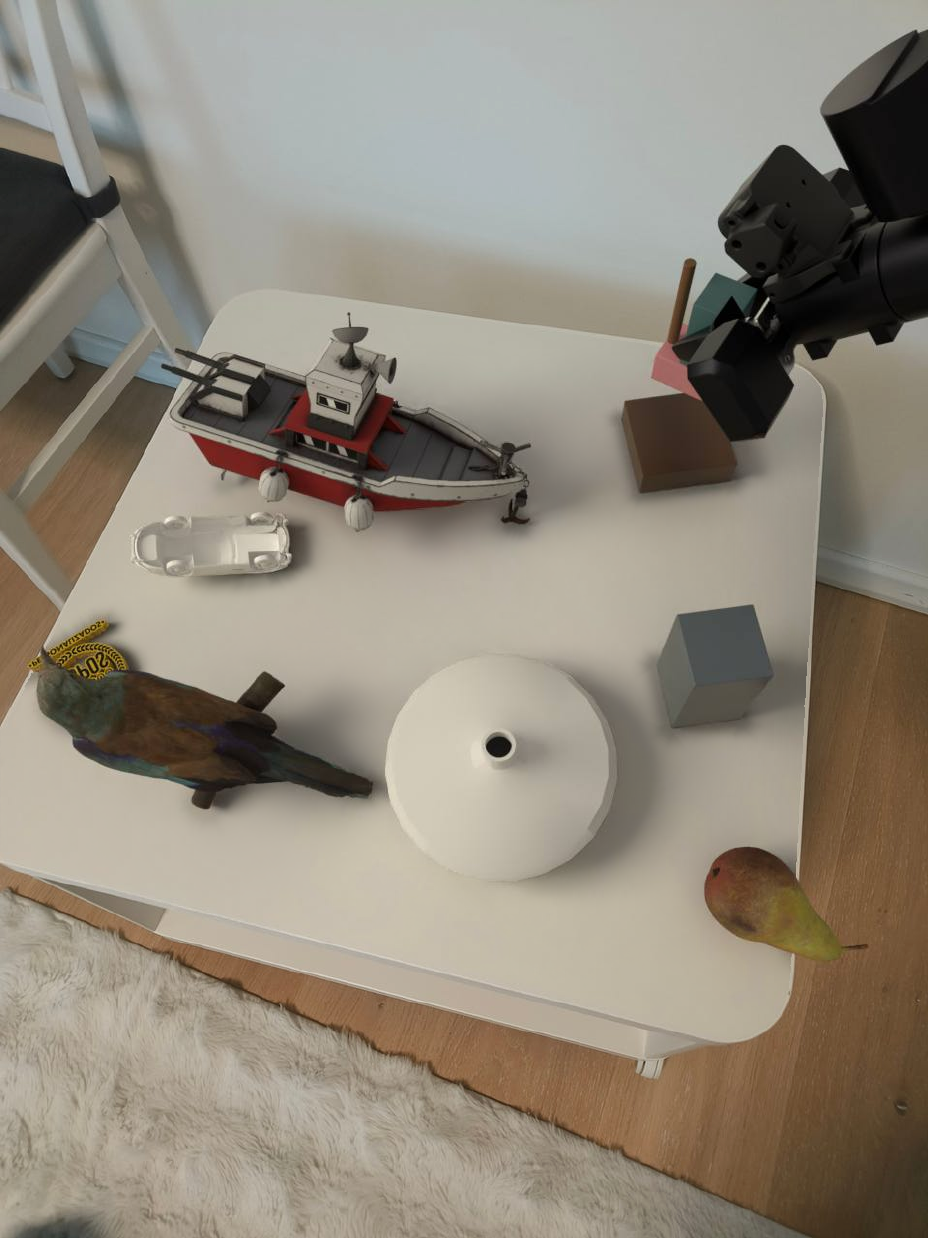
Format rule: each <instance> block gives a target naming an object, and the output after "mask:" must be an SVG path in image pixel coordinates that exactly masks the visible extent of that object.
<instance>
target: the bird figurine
mask: <svg viewBox="0 0 928 1238" xmlns="http://www.w3.org/2000/svg"><path fill="white" fill-rule="evenodd" d="M39 651H40V652H39V654H40V655H41V660H42V666H43V667H42V669H41V670H40V671H38V674H37V683H36V699H37V703H38V707H39V710H40V712H41V713H42V714H43V715H44V716H45V717H47V718H48V719H50V721H51V720H52V721H53V722H55V724H58V725H59V726H60V727H61V728H63V729H64V730H65V731H67V733H68V734H69V735H70V736H71V737H72V739H71V740H72V741H71V742H72V746H73V748H74V749H75V750H76V751H77V752H78V753H79V754H81V755H82V756H84V757H85V758H86V759H89V760H91V761H92V762H95V763H97V764H99V765H101V766H104V767H106V768H109V769H111V770H114V771H118V772H121V773H125V774H126V773H127V774H132V775H136V776H141V777H147V778H153V779H159V780H167V781H170V782H173V783H176V784H179V785H182V786H184V787H186V788H189V789H192V790H194V792H193V794H192V796H191V799H190V801H191V804H192V805H193V806H195V807H196V808H198V809H201V810H204V811H205V810H209V809H211V807H212V804H213V803H214V799H215V798H216V796H217V793H219V792H220V793H221V792H223V791H224V790H228V789H230V790H231V789H234V788H237V787H239V786H246V785H260V784H276V783H291V784H294V785H298V786H302V787H304V788H307V789H310V790H314V791H317V792H319V793H322V794H324V795H326V796H329V797H334V798H345V797H348V798H353V799H356V798H357V799H358V798H359V799H364V800H368V799H369V798H370V795H371V794H372V793H373V790H374V789H373V788H374V781H370V780H369V779H368V778H366V777H363V776H362V775H359V774H358V775H357V774H356V773H355V772H351V771H347V769H345V768H343V767H341V766H339V765H337V764H334V763H333V762H330V761H328V760H325V758H322V757H320V756H317V755H314V754H310V753H308V752H305V751H303V750H300V749H296V748H295V747H293V746H291V745H290V744H289V743H287V742H285V741H283V740H281V739H279V738H277V737H276V736H274V735H273V734H274V733H275V732H276V731H277V730H278V725H277V722H276V721H275V720H274V719H273V718H272V717H271V716H270V715H268V714H266V713H264V712H263V711H264V710H265V709H266V708H267V707H268V706H269V705H270V704H271V703H272V701H273V700H274V699H275V698H276V697H277V695H278V694H279V693H280V692H281V691H282V690H283V689H284V688H285V687H286V685H285V684H284V683H283V682H282V681H280V680H279V679H278V678H276V677H274V675H272V674H270V672H268V671H262V672H261V673H260V674H259V675H258V676H257V677H256V679H255V680H254V682H253V683H252V684H251V685H250V686H249V687H248V688H247V689H246V690H245V692H243V694H241V696H240V697H239V698H238V699H237V700H236V702H235V701H233V700H229V699H226V698H224V697H221V696H218V695H216V694H213V693H211V692H209V691H206V690H204V689H201V688H198V687H197V686H196V687H195V686H193V685H189V684H186V683H183V682H180V681H177V680H173V679H168V678H165V677H161V676H159V675H156V674H154V673H150V672H147V671H144V670H143V671H142V670H135V669H129V670H123V669H114V670H112V671H110V672H108V673H107V674H106V675H105V676H104V677H103V678H102V679H97V680H95V679H89V678H86V677H82V676H80V675H78V674H77V673H75V672H74V671H73V670H68V669H65V668H64V667H62V666H59V665H58V664H57V663H56V662H57V661H55V662H54V661H53V660H52V659H51V657H50V656H49V655H48V654H47V652H46V651H47V650H46V649H45V646H44V645H42V646H41V647H40V650H39Z"/></svg>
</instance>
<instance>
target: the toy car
mask: <svg viewBox="0 0 928 1238" xmlns="http://www.w3.org/2000/svg"><path fill="white" fill-rule="evenodd" d="M288 524H289V519H288V518H287V515H286V514H285V513H283V512H276V513H275V515H274V517H273V515H272V514H271V513H269V512H266V511H258V512H254V513H252V514H251V515H250V517H248V515H247V514H245V513H244V514H243V513H242V514H241V513H240V514H239V513H238V514H218V515H217V514H216V515H197V516H195V515H194V516H189V520H188V519H187V518H186V517H185V516H181V515H171V516H168V517H166V518H165V519H164V523H163V521H162V520H159V521H155V522H151V523H149V524H144V525H142V526H140V527H138V528H137V529H136V530H135V531H134V533H131V534H130V538H131V540H130V543H131V554H130V556H131V558H130V560H131V563H132V564H136V566H138V567H139V568H140V569H142V570H144V571H146V572H148V573H149V574H153V575H157V576H159V577H165V578H190V577H198V576H199V577H200V576H225V575H226V576H227V575H242V574H265V573H272V572H277V571H280V570H283V569H285V568H288V567H289V564H290V563H291V561H292V553H290V551H289V549H290V546H291V545H290V539H291V538H290V533H289V529H288V527H287V526H288Z"/></svg>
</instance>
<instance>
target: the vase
mask: <svg viewBox="0 0 928 1238" xmlns="http://www.w3.org/2000/svg"><path fill="white" fill-rule="evenodd" d="M386 744H387V745H386V754H385V755H386V756H385V765H384V766H385V768H384V776H385V781H386V786H387V793H388V797H389V802H390V805H391V807H392V809H393V811H394V813H395V815H396V817H397V819H398V821H399V824H400V827H402V830H403V831H404V832H405V833H406V834H407V836H408V837H409V838H410V839H411V840H412V841H413V843H415V845H416V846H417V847H418V848H419V850H420V851H421V852H422V853H423V854H425V855H426V856H428V857H429V858H430V859H432V860H434V861H435V862H437V863H438V864H440V865H441V866H443V867H444V868H446V869H447V870H448V871H451V872H454V873H457V874H461V875H464V876H466V877H469V878H473V879H476V880H479V881H491V882H492V881H493V882H516V881H520V880H525V879H529V878H533V877H538V876H542V875H545V874H547V873H549V872H551V871H552V870H555V869H556V868H558V867H559V866H561V865H563V864H565V863H567V862H569V861H570V860H572V859H573V858H574V857H575V856H576V855H578V853H579V852H580V851H581V850H582V849H583V848H584V847H585V846H586V845H587V844H588V843H590V841H591V840H593V839H594V837H595V836H596V834H597V833H598V831H599V829H600V828H601V826H602V824H603V822H604V821H605V818H606V817H607V815H608V813H609V812H610V809H611V805H612V802H613V797H614V794H615V790H616V785H617V782H618V770H617V768H618V767H617V748H616V746H615V742H614V739H613V735H612V732H611V728H610V725H609V721H608V720H607V718H606V717H605V714H604V713H603V711H602V710H601V708H600V707H599V705H598V704H597V702H596V700H595V699H594V697H593V696H592V695H591V694H590V693H589V692H588V691H587V690H586V689H585V688H584V687H583V686H582V685H581V684H580V683H579V682H578V681H577V680H576V679H574V678H573V677H572V676H571V675H570V674H568V673H566V672H564V671H563V670H560V669H559V668H557V667H555V666H554V665H551V663H548V662H546V661H543V660H539V659H536V658H533V657H528V656H524V655H521V654H510V653H505V654H504V653H487V654H483V655H478V656H474V657H469V658H465V659H461V660H459V661H457V662H454V663H453V664H451V665H448V666H447V667H444V668H443V669H441V670H439V671H437V672H434V674H433V675H431V676H430V677H429V678H428V679H427V680H426V681H424V682H423V684H421V685H420V686H418V688H416V689H415V690H414V691H413V692H412V694H411V695H410V697H409V698H408V699H407V701H406V702H405V704H404V705H403V707H402V708H401V710H400V711H399V712H398V714H397V716H396V718H395V721H394V724H393V727H392V729H391V732H390V735H389V738H388V740H387V743H386Z"/></svg>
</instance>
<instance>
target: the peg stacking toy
mask: <svg viewBox="0 0 928 1238" xmlns="http://www.w3.org/2000/svg"><path fill="white" fill-rule="evenodd" d="M696 269H697V261H696V259H694V258H691V257H689V258H686V259H685V260H684V261H683V265H682V270H681V275H680V278H679V283H678V288H677V293H676V297H675V302H674V307H673V311H672V316H671V321H670V324H669V328H668V333H667V338H666V339H665V341H664V342H663V344H662V345H661V346H660V348H659V349H658V351H657V352H656V354H655V355H654V361H653V365H652V371H651V375H650V379H652V380H654V381H656V382H658V383H660V384H663V385H666V386H667V387H670V388H672V389H674V390H677V391H679V392H680V393H685V394H688V395H690V396H692V397H694V398H696V399H699V400H701V398H700V397H699V395H698V394H697V392H696V391H695V389H694V388H693V386H692V385H691V383H690V382H689V381H688V379H687V364H688V363H689V362H686V361H683V360H680V359H678V358H677V356H676V355H675V353H674V352H673V350H672V346H673V345H674V343H676V342H678V341H679V340H681V339H683V338H685V337H687V336H689V335H691V334H693V333H695V332H697V331H699V330H701V329H704V328H706V327H708V326H710V325H712V322H713V321H714V319H715V318H716V316H717V315H718V313H719V312H720V311H721V309H722V308H723V306H724V305H725V303H726V302H727V300H728V299H729V297H730V296H731V295H732V296H733V297H734V299H735V301H736V302H737V304H738V306H739V307H740V309H741V310H742V312H743V314H744V315H745V317H746V318H748V317H749V315H750V312H751V309H752V306H753V303H754V300H755V296H756V293H757V290H758V289H756V288H754V287H751V286H749V285H746V284H744V283H741V282H739V281H737V279H734V278H731V277H728V276H726V275H723V274H721V273H719V272H715V273H714V274H713V275H712V277H711V278H710V279H709V281H708V282H707V284H706V286H705V287H704V288H703V289H702V291H701V292H700V293H699V296H697V298H696V300H695V301H694V303H693V304H692V308H691V313H690V316H689V320H688V324H686V323H684V320H685V315H686V310H687V307H688V303H689V298H690V293H691V289H692V285H693V281H694V278H695V274H696V273H695V272H696ZM701 401H702V400H701Z"/></svg>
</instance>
